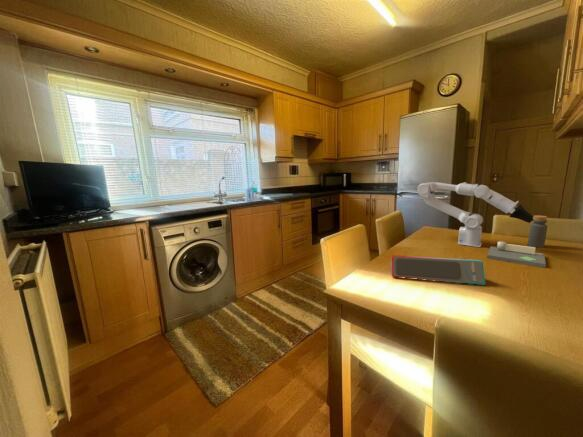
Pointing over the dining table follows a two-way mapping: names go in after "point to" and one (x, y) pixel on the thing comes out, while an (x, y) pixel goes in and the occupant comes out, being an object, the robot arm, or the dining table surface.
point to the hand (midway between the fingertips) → (531, 219)
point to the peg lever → (516, 248)
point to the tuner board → (517, 257)
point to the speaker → (438, 269)
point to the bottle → (538, 232)
